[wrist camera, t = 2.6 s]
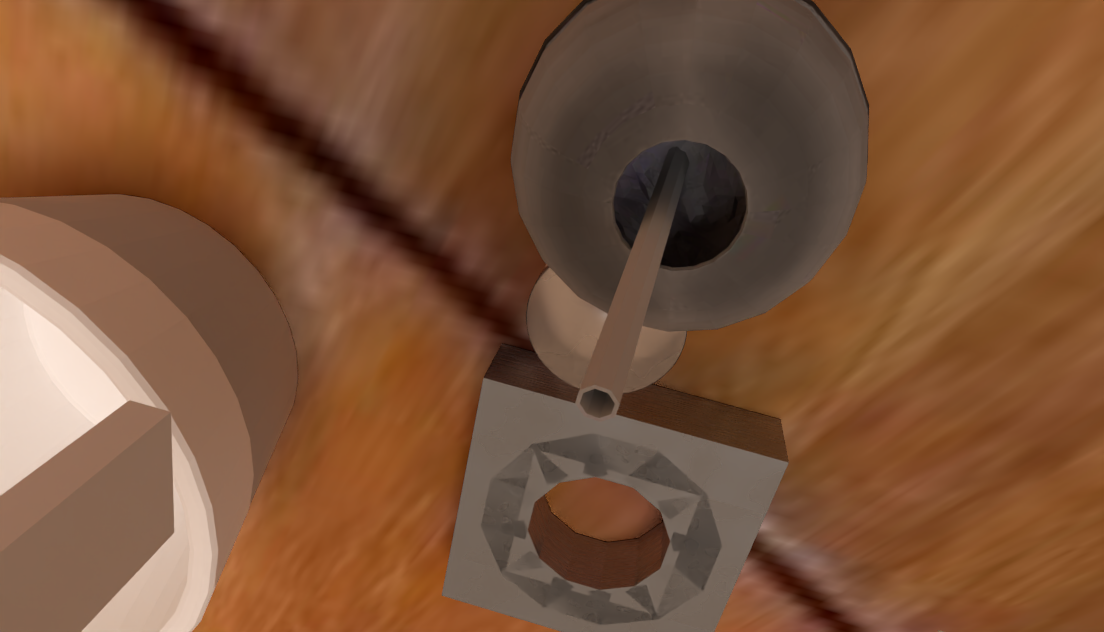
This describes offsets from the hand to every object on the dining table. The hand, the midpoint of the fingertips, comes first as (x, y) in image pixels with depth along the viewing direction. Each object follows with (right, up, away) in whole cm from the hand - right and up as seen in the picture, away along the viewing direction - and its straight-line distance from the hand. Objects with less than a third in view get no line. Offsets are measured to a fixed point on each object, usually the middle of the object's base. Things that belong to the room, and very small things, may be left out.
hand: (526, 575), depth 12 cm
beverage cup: (+5, +13, +13) cm, 19 cm away
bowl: (-18, +3, +22) cm, 29 cm away
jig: (+3, -4, +21) cm, 21 cm away
